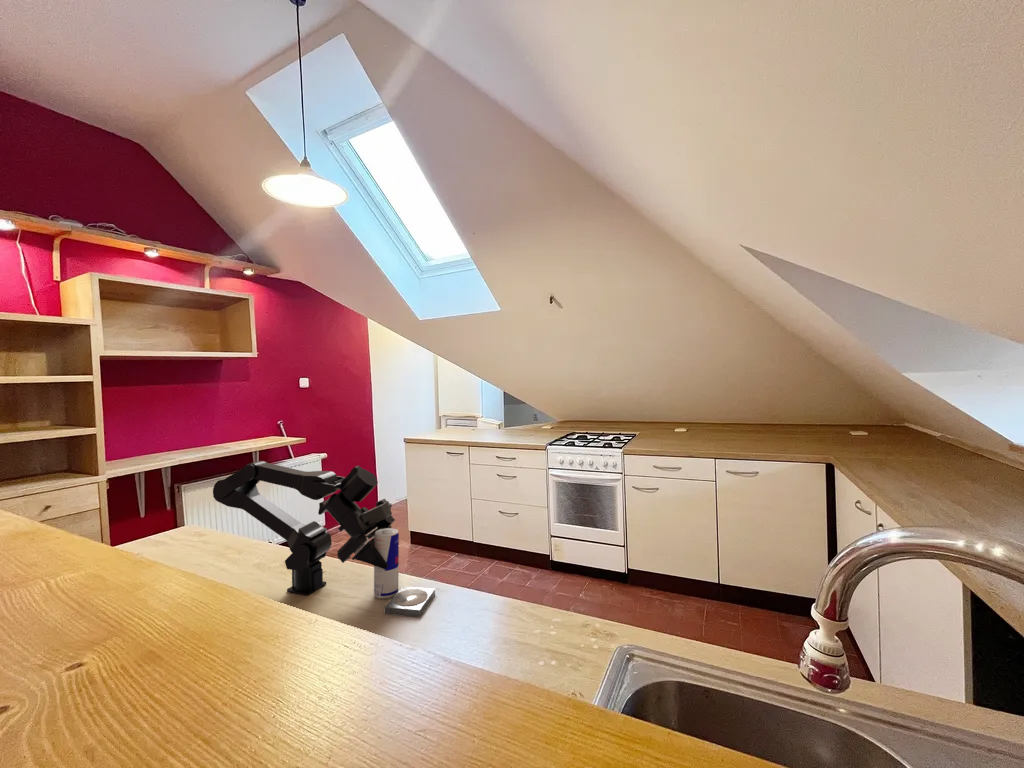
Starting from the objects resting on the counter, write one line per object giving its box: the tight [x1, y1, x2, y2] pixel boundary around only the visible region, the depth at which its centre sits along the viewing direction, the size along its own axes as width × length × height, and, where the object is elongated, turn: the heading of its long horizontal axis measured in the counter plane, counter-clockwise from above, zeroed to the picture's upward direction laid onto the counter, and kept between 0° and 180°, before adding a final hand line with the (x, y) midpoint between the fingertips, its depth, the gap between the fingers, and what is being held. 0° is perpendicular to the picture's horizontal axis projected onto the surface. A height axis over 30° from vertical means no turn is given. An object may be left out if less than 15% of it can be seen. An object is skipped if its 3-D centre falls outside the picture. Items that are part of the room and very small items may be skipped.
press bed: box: [384, 585, 436, 618], centre depth 100 cm, size 8×10×2 cm
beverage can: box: [373, 527, 400, 600], centre depth 104 cm, size 6×6×15 cm
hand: (391, 562), depth 104 cm, fingers closed on beverage can, 5 cm apart
